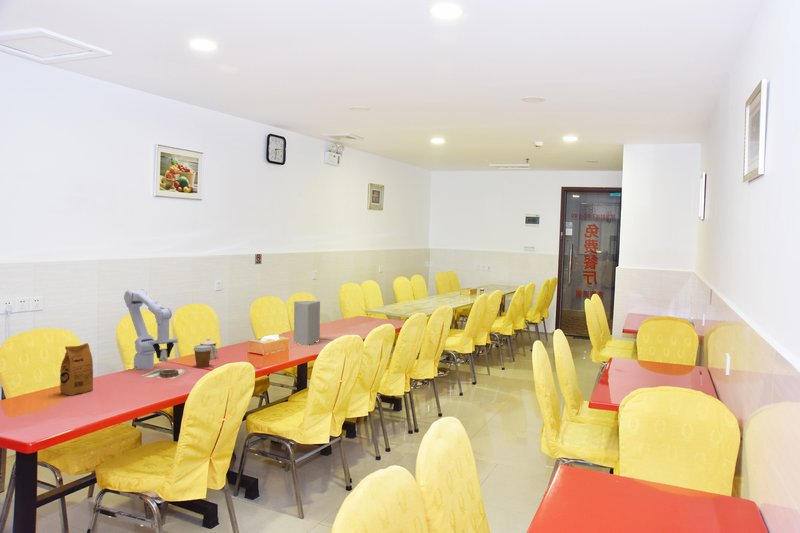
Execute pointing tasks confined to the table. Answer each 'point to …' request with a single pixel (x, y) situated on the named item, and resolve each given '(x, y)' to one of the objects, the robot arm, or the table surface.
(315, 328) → the grey block
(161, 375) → the ring collar
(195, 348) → the disposable coffee cup
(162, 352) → the piston
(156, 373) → the plate
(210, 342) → the teacup with lid
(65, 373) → the coffee package
